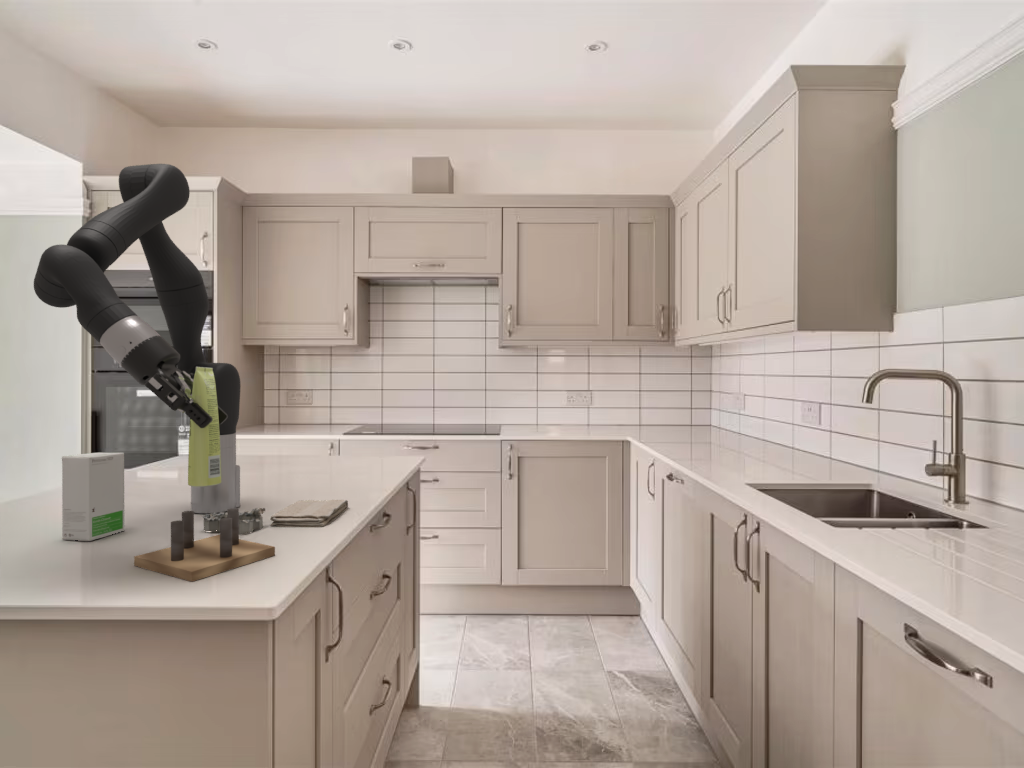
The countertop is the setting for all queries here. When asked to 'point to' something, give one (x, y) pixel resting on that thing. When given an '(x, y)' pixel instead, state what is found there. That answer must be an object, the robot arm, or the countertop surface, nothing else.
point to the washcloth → (309, 513)
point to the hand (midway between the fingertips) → (215, 422)
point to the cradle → (203, 550)
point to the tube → (204, 434)
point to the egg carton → (246, 520)
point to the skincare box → (92, 495)
